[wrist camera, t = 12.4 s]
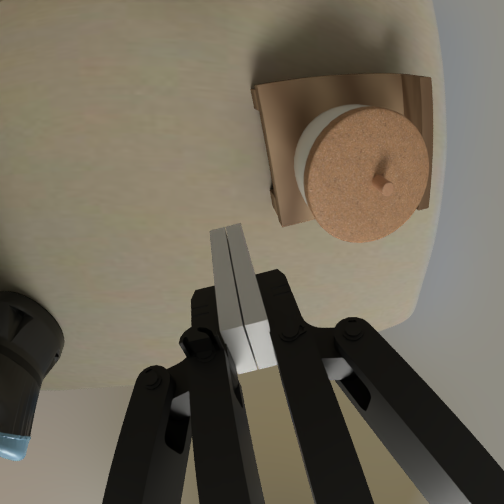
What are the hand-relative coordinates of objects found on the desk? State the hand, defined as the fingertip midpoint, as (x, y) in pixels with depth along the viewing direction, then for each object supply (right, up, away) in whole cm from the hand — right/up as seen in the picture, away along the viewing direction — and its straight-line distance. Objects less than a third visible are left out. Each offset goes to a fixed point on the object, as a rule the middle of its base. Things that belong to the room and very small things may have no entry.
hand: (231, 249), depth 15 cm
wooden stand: (+10, +12, +14) cm, 21 cm away
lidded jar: (+9, +9, +11) cm, 17 cm away
